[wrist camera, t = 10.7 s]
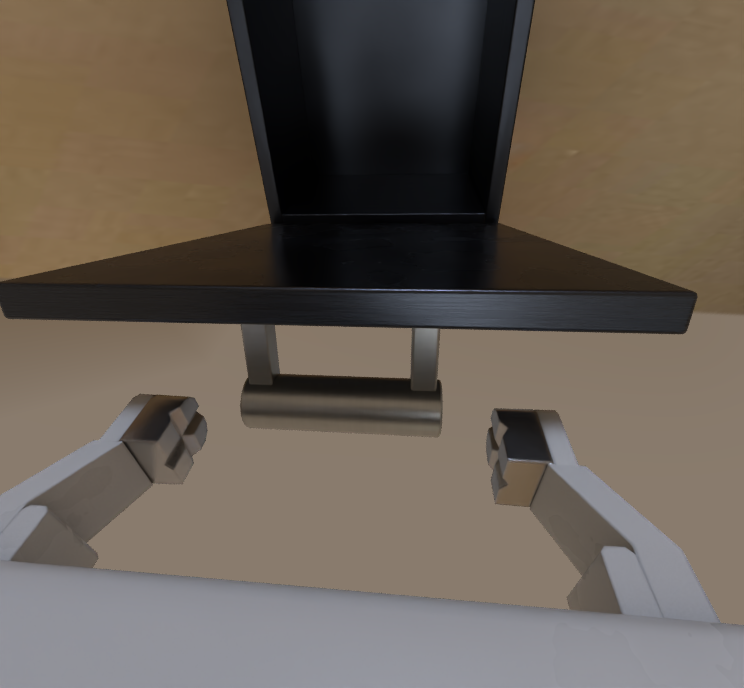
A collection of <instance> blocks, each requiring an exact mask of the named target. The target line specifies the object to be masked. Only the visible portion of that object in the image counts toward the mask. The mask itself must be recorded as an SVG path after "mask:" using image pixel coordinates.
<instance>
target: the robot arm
mask: <svg viewBox="0 0 744 688" xmlns="http://www.w3.org/2000/svg"><path fill="white" fill-rule="evenodd" d="M198 407H199V406H198V403H197V402H196V400H195V398H192V397H183V396H169V395H168V396H167V395H149V394H139V395H138V396H135V397H134V398H133V399H132V400H131V401H130V402H129V404H128V405H127V406H126V407H125V409H124V410H123V411H122V412H121V414H120V415H119V416H118V417H117V419H116V420H115V421H114V422H113V423H112V425H111V426H110V427H109V428H108V430H107V431H106V432H105V434H104V435H103V436H102V437H101V438H100V440H93V441H92V442H90V443H88V444H86V445H85V446H83V447H81V448H80V449H78V450H76V451H74V452H73V453H71V454H69V455H68V456H66V457H64V458H62V459H61V460H59V461H57V462H56V463H54V464H52V465H51V466H49V467H47V468H45V469H44V470H42V471H40V472H39V473H37V474H35V475H34V476H32V477H30V478H29V479H27V480H25V481H23V482H22V483H20V484H18V485H17V486H15V487H13V488H11V489H10V490H8V491H6V492H5V493H3V494H1V495H0V688H744V625H738V624H726V623H721V622H720V620H719V619H718V617H717V615H716V613H715V611H714V609H713V607H712V605H711V603H710V602H709V600H708V598H707V596H706V594H705V592H704V590H703V588H702V586H701V584H700V583H699V581H698V579H697V577H696V575H695V573H694V571H693V569H692V567H691V565H690V564H689V562H688V560H687V558H686V556H685V554H684V552H683V550H682V549H681V548H679V547H678V546H677V545H676V544H675V543H674V542H672V541H671V540H670V539H669V538H668V537H667V536H666V535H665V534H663V533H662V532H661V531H660V530H659V529H658V528H656V527H655V526H654V525H653V524H652V523H651V522H649V521H648V520H647V519H646V518H645V517H644V516H642V515H641V514H640V513H639V512H638V511H637V510H635V509H634V508H633V507H632V506H631V505H630V504H629V503H628V502H626V501H625V500H624V499H623V498H622V497H621V496H619V495H618V494H617V493H616V492H615V491H614V490H612V489H611V488H610V487H609V486H608V485H607V484H606V483H604V482H603V481H602V480H601V479H600V478H598V477H597V476H596V475H595V474H594V473H593V472H592V471H591V470H589V469H588V468H587V467H586V466H579V464H578V462H577V459H576V457H575V455H574V452H573V450H572V447H571V444H570V442H569V439H568V437H567V434H566V432H565V429H564V427H563V424H562V422H561V419H560V417H559V414H558V413H557V412H556V411H555V410H532V409H497V408H496V409H494V410H493V411H492V415H491V422H492V427H491V428H489V430H488V433H487V440H486V453H487V461H488V465H489V466H490V467H491V468H492V469H493V474H492V477H491V484H492V489H493V495H494V500H495V504H501V505H512V506H524V507H530V510H531V511H532V512H533V514H534V515H535V516H536V517H537V519H538V520H539V521H540V523H541V524H542V525H543V526H544V528H545V529H546V530H547V532H548V533H549V534H550V535H551V537H552V538H553V539H554V540H555V542H556V543H557V544H558V546H559V547H560V548H561V549H562V551H563V552H564V553H565V554H566V556H567V557H568V558H569V560H570V561H571V562H572V563H573V565H574V566H575V567H576V568H577V570H578V571H579V572H580V574H581V575H582V577H581V579H580V580H579V581H578V583H577V584H576V586H575V587H574V588H573V590H572V591H571V592H570V594H569V595H568V596H567V600H568V604H569V607H570V610H567V609H555V608H544V607H532V606H521V605H509V604H498V603H487V602H475V601H464V600H451V599H441V598H429V597H418V596H406V595H395V594H383V593H372V592H361V591H349V590H338V589H326V588H315V587H304V586H292V585H281V584H270V583H258V582H246V581H234V580H224V579H213V578H200V577H190V576H178V575H166V574H154V573H144V572H131V571H120V570H109V569H97V568H93V566H94V565H95V563H96V561H97V560H98V554H97V552H96V551H94V549H92V548H91V547H90V546H89V545H88V544H87V542H88V541H89V540H90V539H91V538H92V537H94V536H95V535H96V534H97V533H98V532H100V531H101V530H102V529H103V528H104V527H105V526H106V525H108V524H109V523H110V522H111V521H112V520H113V519H114V518H116V517H117V516H118V515H119V514H120V513H121V512H122V511H124V510H125V509H126V508H127V507H128V506H129V505H131V504H132V503H133V502H134V501H135V500H136V499H137V498H139V497H140V496H141V495H142V494H143V493H144V492H145V491H147V490H148V489H149V488H150V487H151V486H152V485H153V484H152V483H158V484H183V482H184V480H185V479H186V477H187V475H188V473H189V471H190V469H191V467H192V466H193V463H194V462H193V458H192V456H193V455H194V454H196V453H197V452H198V451H199V450H201V449H202V446H203V444H204V443H205V441H206V435H207V423H206V421H205V418H204V417H203V416H202V415H201V414H199V413H198V412H197V411H196V410H197V409H198Z"/></svg>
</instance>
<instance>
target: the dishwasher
mask: <svg viewBox="0 0 744 688" xmlns="http://www.w3.org/2000/svg"><path fill="white" fill-rule="evenodd" d="M226 1H227V6H228V11H229V16H230V21H231V26H232V31H233V36H234V41H235V46H236V51H237V55H238V60H239V65H240V70H241V75H242V80H243V85H244V90H245V95H246V100H247V105H248V110H249V115H250V120H251V125H252V130H253V135H254V140H255V145H256V150H257V155H258V160H259V165H260V170H261V175H262V180H263V185H264V190H265V195H266V200H267V205H268V210H269V215H270V220H271V224H307V223H498V220H499V214H500V208H501V202H502V196H503V190H504V184H505V178H506V172H507V166H508V160H509V154H510V148H511V142H512V136H513V130H514V124H515V118H516V112H517V106H518V100H519V94H520V88H521V82H522V76H523V70H524V64H525V58H526V52H527V46H528V40H529V34H530V28H531V22H532V16H533V10H534V4H535V0H226Z"/></svg>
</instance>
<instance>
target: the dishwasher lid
mask: <svg viewBox="0 0 744 688" xmlns="http://www.w3.org/2000/svg"><path fill="white" fill-rule="evenodd" d="M696 300H697V293H696V292H693V291H691V290H688V289H685V288H682V287H679V286H677V285H674V284H671V283H668V282H665V281H662V280H659V279H657V278H654V277H651V276H648V275H645V274H642V273H640V272H637V271H634V270H631V269H628V268H625V267H623V266H620V265H617V264H614V263H611V262H608V261H605V260H603V259H600V258H597V257H594V256H591V255H588V254H586V253H583V252H580V251H577V250H574V249H571V248H569V247H566V246H563V245H560V244H557V243H554V242H552V241H549V240H546V239H543V238H540V237H537V236H534V235H532V234H529V233H526V232H523V231H520V230H517V229H515V228H512V227H509V226H506V225H503V224H500V223H307V224H266V225H261V226H256V227H252V228H247V229H242V230H238V231H233V232H229V233H224V234H219V235H215V236H210V237H205V238H201V239H196V240H191V241H187V242H182V243H178V244H173V245H168V246H164V247H159V248H154V249H150V250H145V251H140V252H136V253H131V254H127V255H122V256H117V257H113V258H108V259H103V260H99V261H94V262H89V263H85V264H80V265H76V266H71V267H66V268H62V269H57V270H52V271H48V272H43V273H39V274H34V275H29V276H25V277H20V278H15V279H11V280H6V281H1V282H0V306H1V308H2V311H3V313H4V316H5V317H6V318H8V319H40V320H83V321H127V322H169V323H212V324H214V323H215V324H241V330H242V336H243V343H244V351H245V357H246V365H247V371H248V378H247V380H246V381H245V384H244V387H243V390H242V395H241V404H240V407H241V416H242V420H243V422H244V424H245V425H246V426H247V427H249V428H261V429H262V428H263V429H282V430H302V431H322V432H341V433H361V434H382V435H401V436H421V437H439V436H440V434H441V428H442V385H441V382H440V380H437V374H438V357H439V340H440V329H474V330H518V331H520V330H521V331H562V332H607V333H649V334H684V333H685V332H686V331H687V329H688V326H689V322H690V319H691V316H692V313H693V310H694V307H695V303H696ZM275 325H300V326H343V327H388V328H412V345H411V346H412V347H411V379H407V378H378V377H351V376H323V375H295V374H280V369H279V362H278V361H279V360H278V352H277V342H276V333H275Z"/></svg>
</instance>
